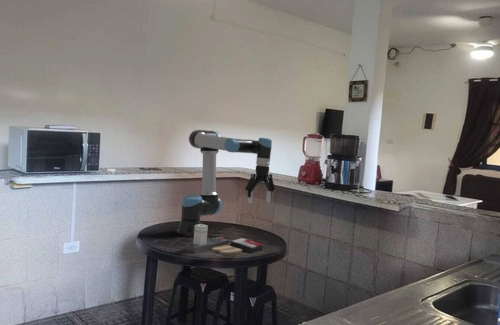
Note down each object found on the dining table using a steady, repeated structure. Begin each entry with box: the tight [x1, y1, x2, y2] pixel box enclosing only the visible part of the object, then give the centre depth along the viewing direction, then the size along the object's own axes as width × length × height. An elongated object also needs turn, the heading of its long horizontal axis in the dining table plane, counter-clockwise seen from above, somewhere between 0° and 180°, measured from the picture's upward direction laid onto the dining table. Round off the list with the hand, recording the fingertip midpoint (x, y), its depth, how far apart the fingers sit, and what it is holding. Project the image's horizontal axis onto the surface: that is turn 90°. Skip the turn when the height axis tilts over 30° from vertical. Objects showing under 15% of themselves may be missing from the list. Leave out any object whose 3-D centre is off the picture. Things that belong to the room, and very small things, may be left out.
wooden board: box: [211, 244, 243, 256], centre depth 225 cm, size 12×12×1 cm
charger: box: [192, 223, 209, 246], centre depth 223 cm, size 5×5×12 cm
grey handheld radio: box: [184, 236, 230, 254], centre depth 230 cm, size 32×8×4 cm, turn 142°
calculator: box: [230, 237, 264, 254], centre depth 234 cm, size 11×4×15 cm
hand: (259, 202), depth 232 cm, fingers open, 13 cm apart
